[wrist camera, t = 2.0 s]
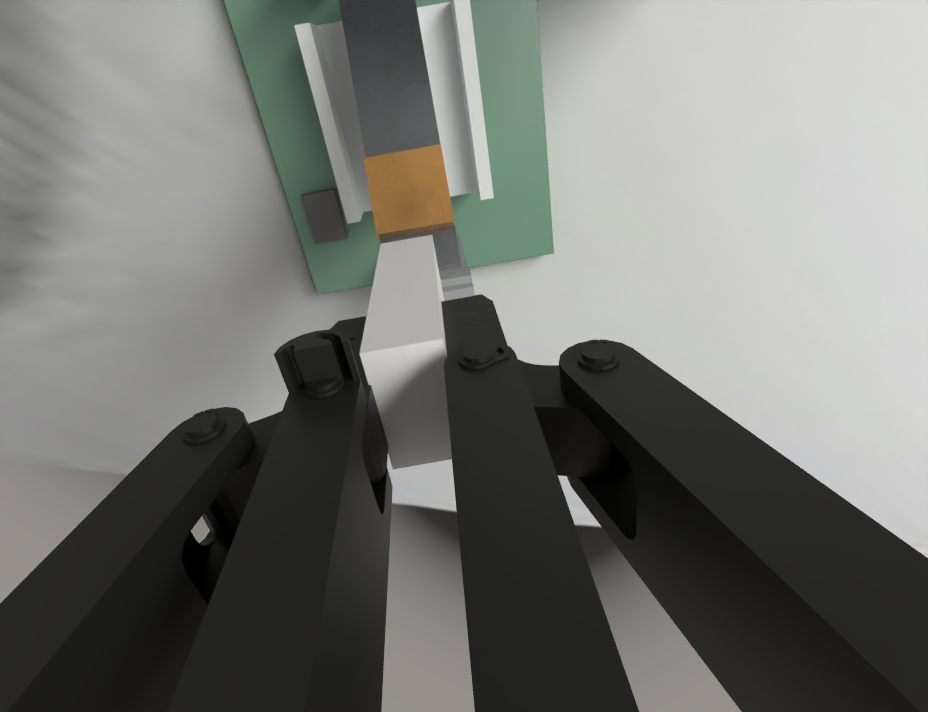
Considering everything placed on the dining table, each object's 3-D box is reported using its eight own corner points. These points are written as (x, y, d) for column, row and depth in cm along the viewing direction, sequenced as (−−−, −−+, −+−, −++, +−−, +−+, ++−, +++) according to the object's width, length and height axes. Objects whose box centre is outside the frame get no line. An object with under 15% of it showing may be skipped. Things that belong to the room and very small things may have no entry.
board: (204, -83, 26) (97, -156, 17) (522, -140, 26) (576, -242, 17) (320, 287, 36) (290, 360, 27) (549, 247, 36) (593, 307, 27)
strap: (325, -58, 22) (312, -98, 20) (409, -72, 22) (403, -115, 20) (383, 283, 22) (375, 274, 20) (468, 268, 22) (468, 258, 20)
